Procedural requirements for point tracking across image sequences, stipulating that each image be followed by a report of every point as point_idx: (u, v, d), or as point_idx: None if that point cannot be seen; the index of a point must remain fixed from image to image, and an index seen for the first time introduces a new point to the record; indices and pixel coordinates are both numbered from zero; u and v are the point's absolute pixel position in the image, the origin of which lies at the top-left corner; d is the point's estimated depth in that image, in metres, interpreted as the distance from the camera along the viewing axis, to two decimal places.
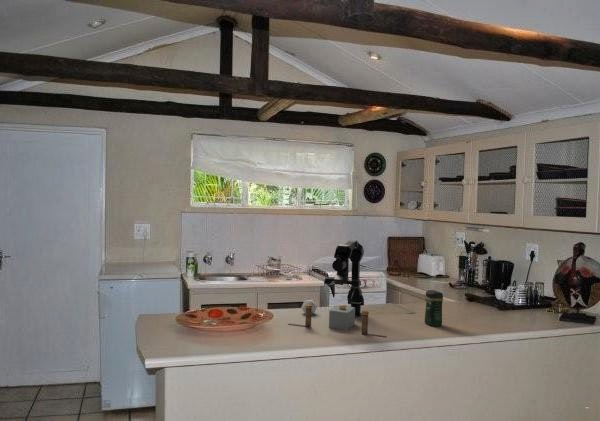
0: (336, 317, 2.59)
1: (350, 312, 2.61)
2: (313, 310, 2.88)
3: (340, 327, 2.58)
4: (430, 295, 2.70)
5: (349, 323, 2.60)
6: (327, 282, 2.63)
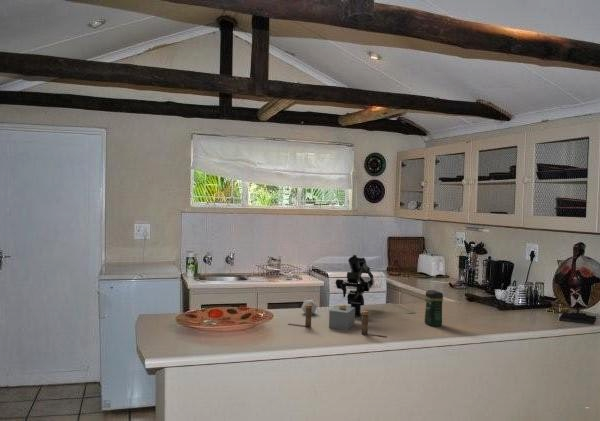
0: (336, 317, 2.59)
1: (350, 312, 2.61)
2: (313, 310, 2.88)
3: (340, 327, 2.58)
4: (430, 295, 2.70)
5: (349, 323, 2.60)
6: (338, 281, 2.83)
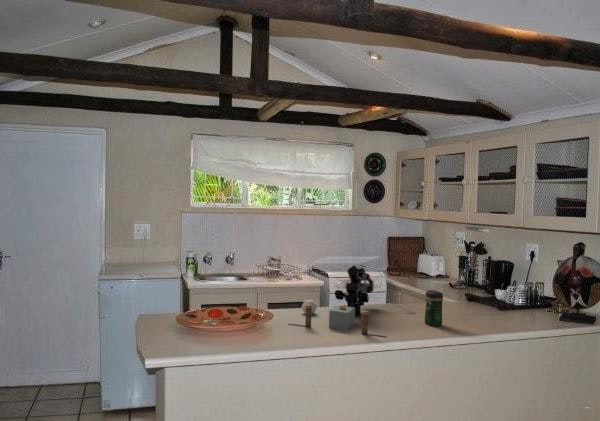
0: (336, 317, 2.59)
1: (350, 312, 2.61)
2: (313, 310, 2.88)
3: (340, 327, 2.58)
4: (430, 295, 2.70)
5: (349, 323, 2.60)
6: (338, 292, 2.82)
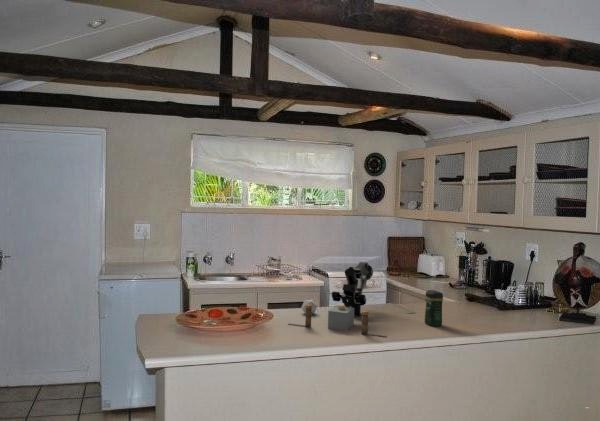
0: (335, 317, 2.58)
1: (349, 312, 2.60)
2: (313, 310, 2.88)
3: (339, 327, 2.57)
4: (430, 295, 2.70)
5: (348, 323, 2.59)
6: (334, 293, 2.76)
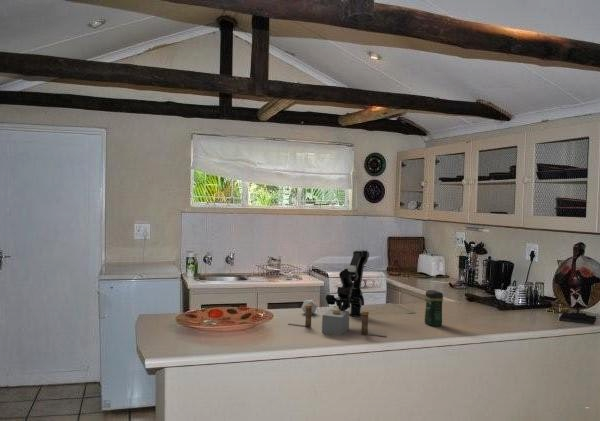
0: (329, 321, 2.48)
1: (344, 317, 2.50)
2: (313, 310, 2.88)
3: (334, 332, 2.47)
4: (430, 295, 2.70)
5: (343, 328, 2.49)
6: (329, 296, 2.67)
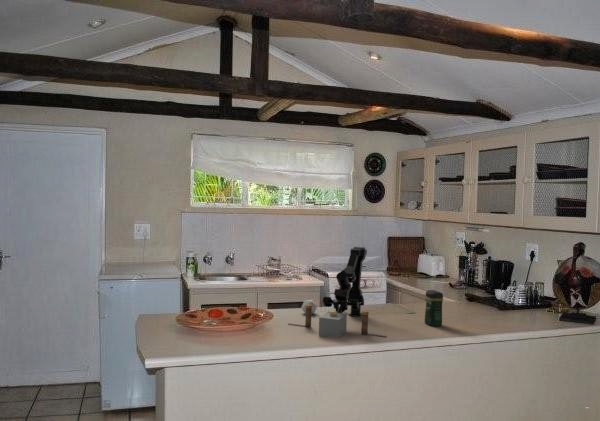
0: (326, 324, 2.43)
1: (341, 319, 2.46)
2: (313, 310, 2.88)
3: (331, 335, 2.43)
4: (430, 295, 2.70)
5: (340, 331, 2.45)
6: (326, 298, 2.62)
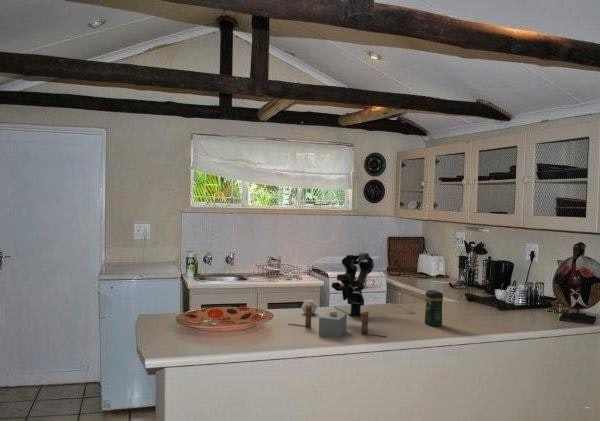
0: (326, 324, 2.44)
1: (341, 319, 2.46)
2: (313, 310, 2.88)
3: (330, 335, 2.43)
4: (430, 295, 2.70)
5: (340, 331, 2.45)
6: (333, 284, 2.79)
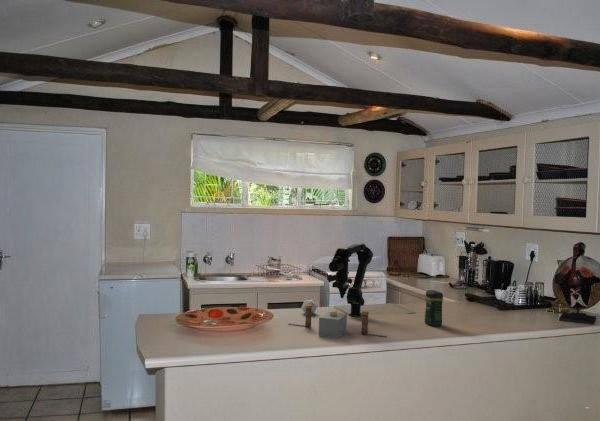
0: (326, 324, 2.44)
1: (341, 319, 2.46)
2: (313, 310, 2.88)
3: (330, 335, 2.43)
4: (430, 295, 2.70)
5: (340, 331, 2.45)
6: None
